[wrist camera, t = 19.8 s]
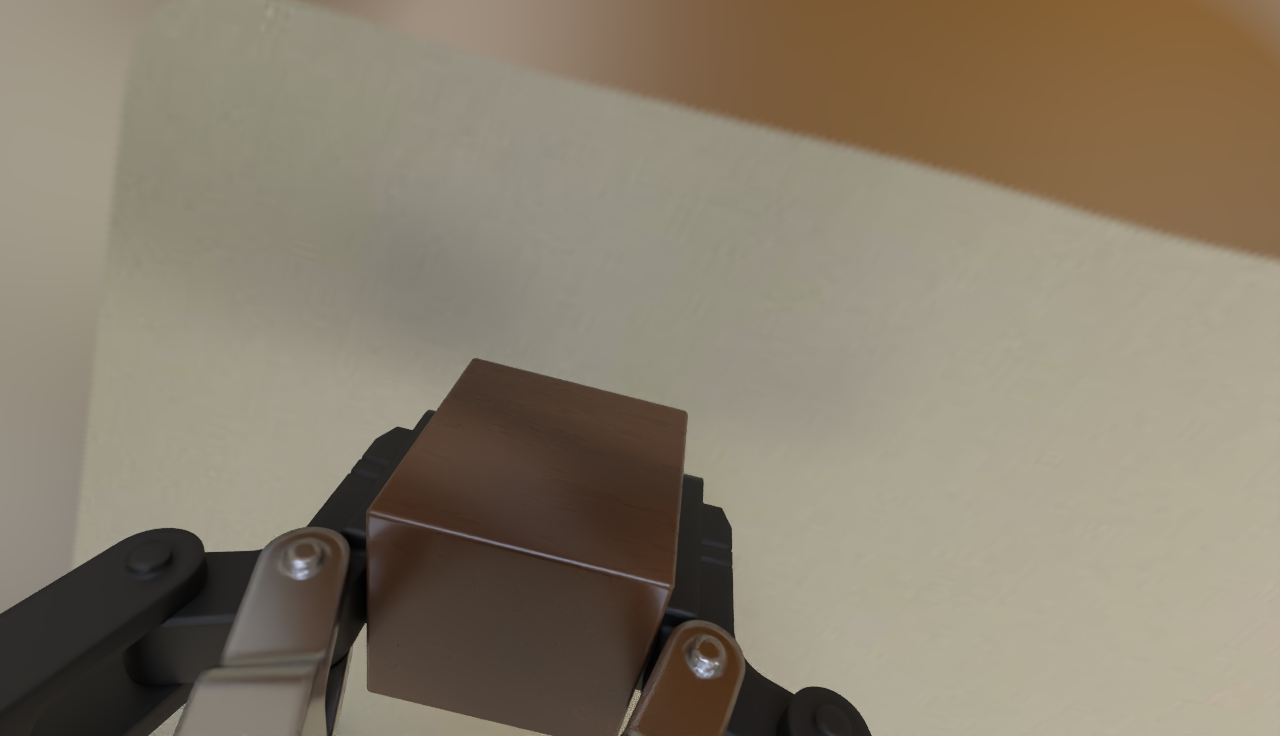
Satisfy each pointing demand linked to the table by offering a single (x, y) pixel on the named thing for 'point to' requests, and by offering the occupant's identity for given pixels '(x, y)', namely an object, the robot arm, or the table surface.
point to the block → (526, 552)
